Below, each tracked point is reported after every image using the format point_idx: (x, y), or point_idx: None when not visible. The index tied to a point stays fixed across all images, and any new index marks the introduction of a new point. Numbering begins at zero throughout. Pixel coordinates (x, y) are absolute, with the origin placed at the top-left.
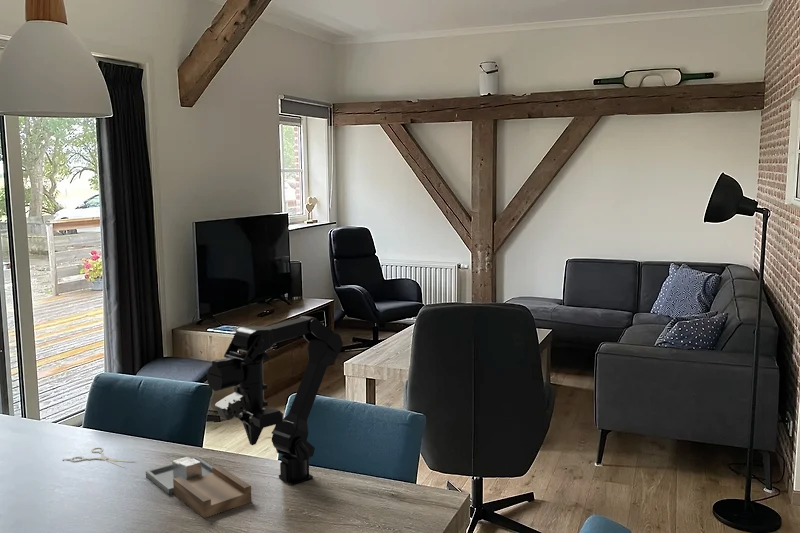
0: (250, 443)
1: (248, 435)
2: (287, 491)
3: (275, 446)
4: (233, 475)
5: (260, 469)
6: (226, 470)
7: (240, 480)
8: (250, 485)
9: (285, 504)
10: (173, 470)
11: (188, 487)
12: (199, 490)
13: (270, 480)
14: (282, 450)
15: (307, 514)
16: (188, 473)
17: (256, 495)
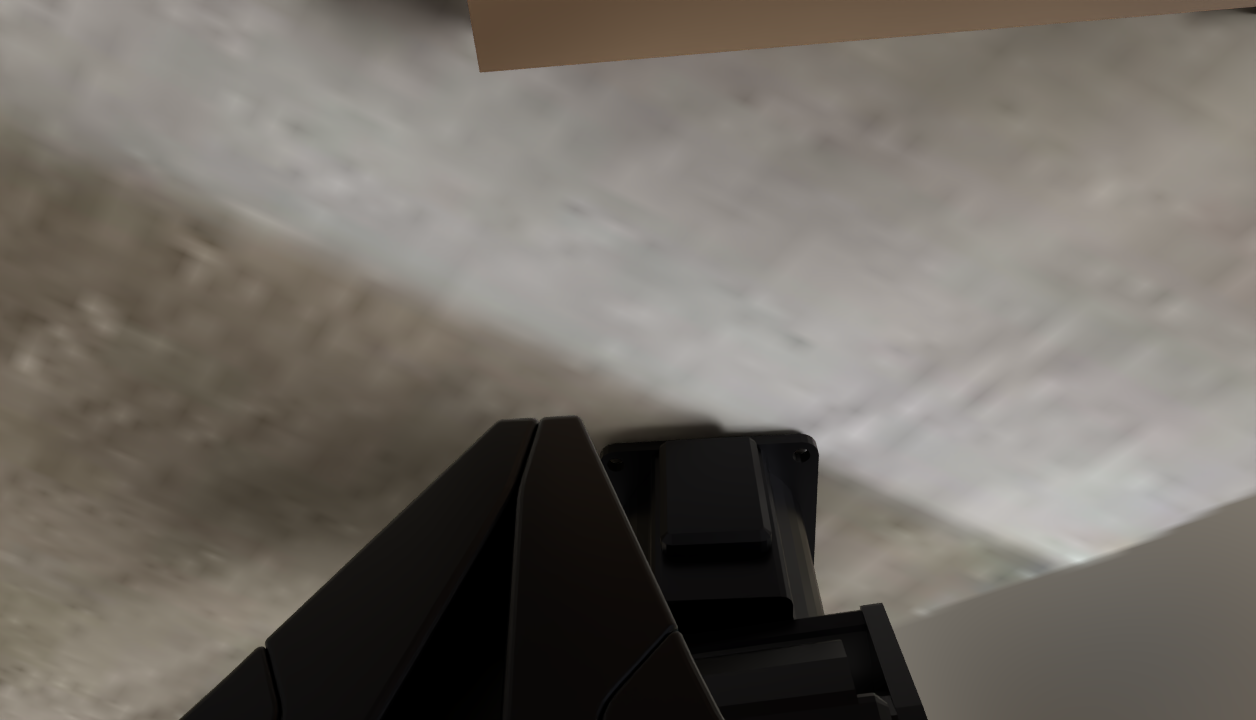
0: (540, 426)
1: (520, 551)
2: (531, 376)
3: (805, 658)
4: (911, 17)
5: (1080, 396)
6: (1131, 6)
7: (704, 27)
8: (488, 68)
9: (306, 261)
10: None
11: None
12: None
13: (816, 365)
14: (701, 659)
15: (58, 313)
16: None
17: (619, 137)
